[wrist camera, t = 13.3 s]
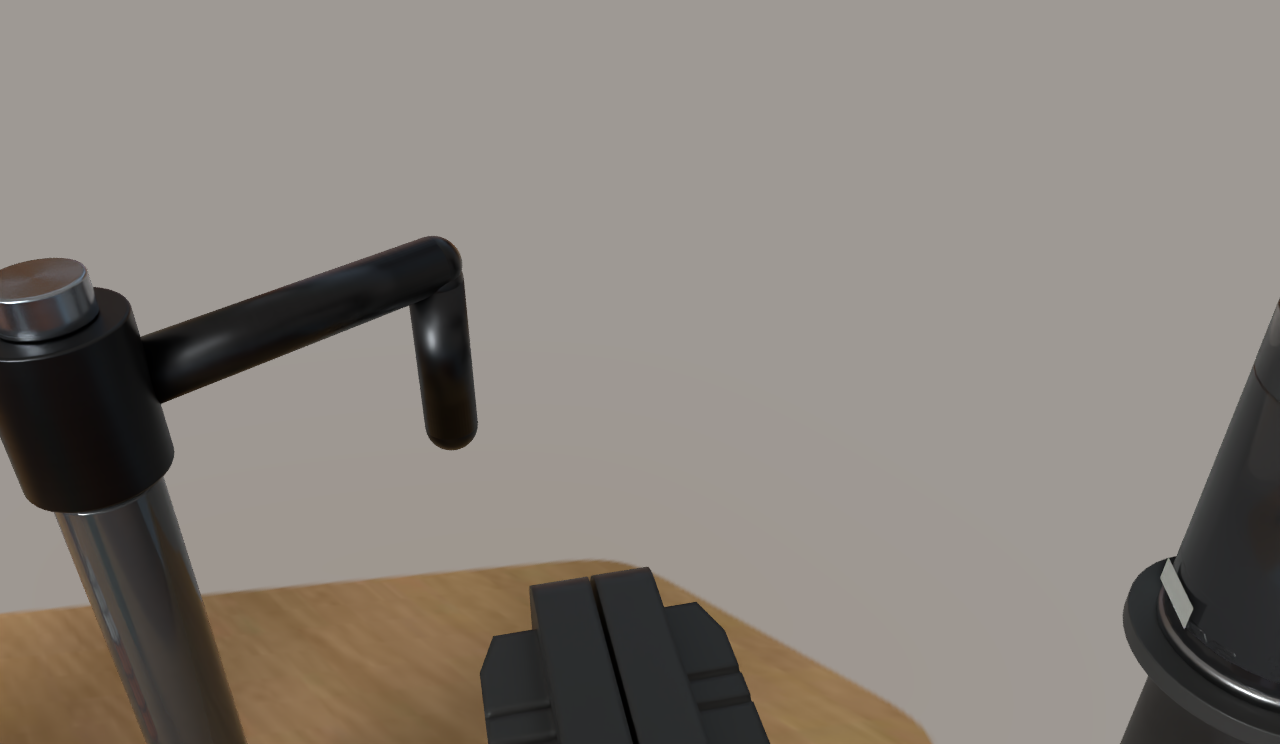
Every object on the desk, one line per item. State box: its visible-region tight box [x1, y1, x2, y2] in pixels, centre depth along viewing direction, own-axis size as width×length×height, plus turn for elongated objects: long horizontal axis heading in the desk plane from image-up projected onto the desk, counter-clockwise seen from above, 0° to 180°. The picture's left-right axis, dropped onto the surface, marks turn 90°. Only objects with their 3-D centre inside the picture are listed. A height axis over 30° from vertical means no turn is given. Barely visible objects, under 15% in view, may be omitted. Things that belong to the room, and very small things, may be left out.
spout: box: [0, 236, 478, 513], centre depth 26 cm, size 12×3×9 cm, turn 135°
